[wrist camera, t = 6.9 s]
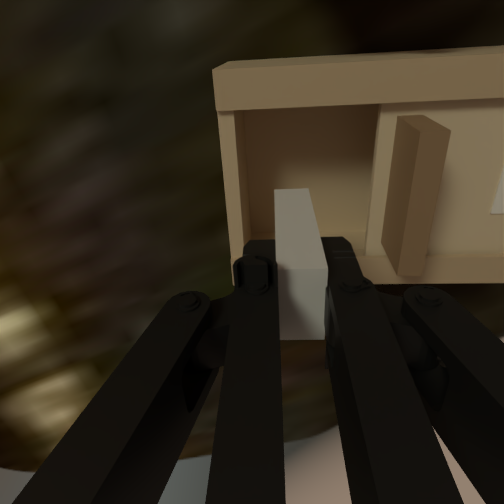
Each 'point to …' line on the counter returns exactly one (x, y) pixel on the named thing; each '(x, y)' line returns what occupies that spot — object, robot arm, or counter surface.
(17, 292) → the counter surface
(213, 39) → the counter surface
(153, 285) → the counter surface
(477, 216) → the lid
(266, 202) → the box
